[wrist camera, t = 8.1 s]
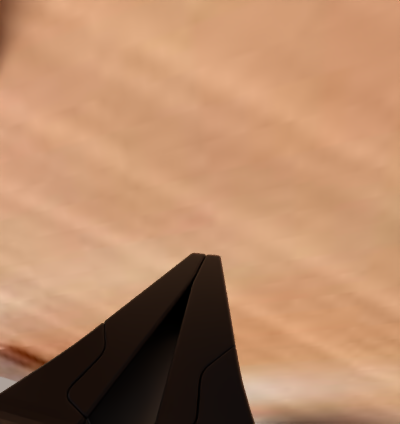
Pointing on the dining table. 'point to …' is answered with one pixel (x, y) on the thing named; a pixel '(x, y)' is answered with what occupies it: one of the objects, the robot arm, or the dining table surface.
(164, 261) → the dining table surface
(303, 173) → the dining table surface
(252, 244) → the dining table surface
